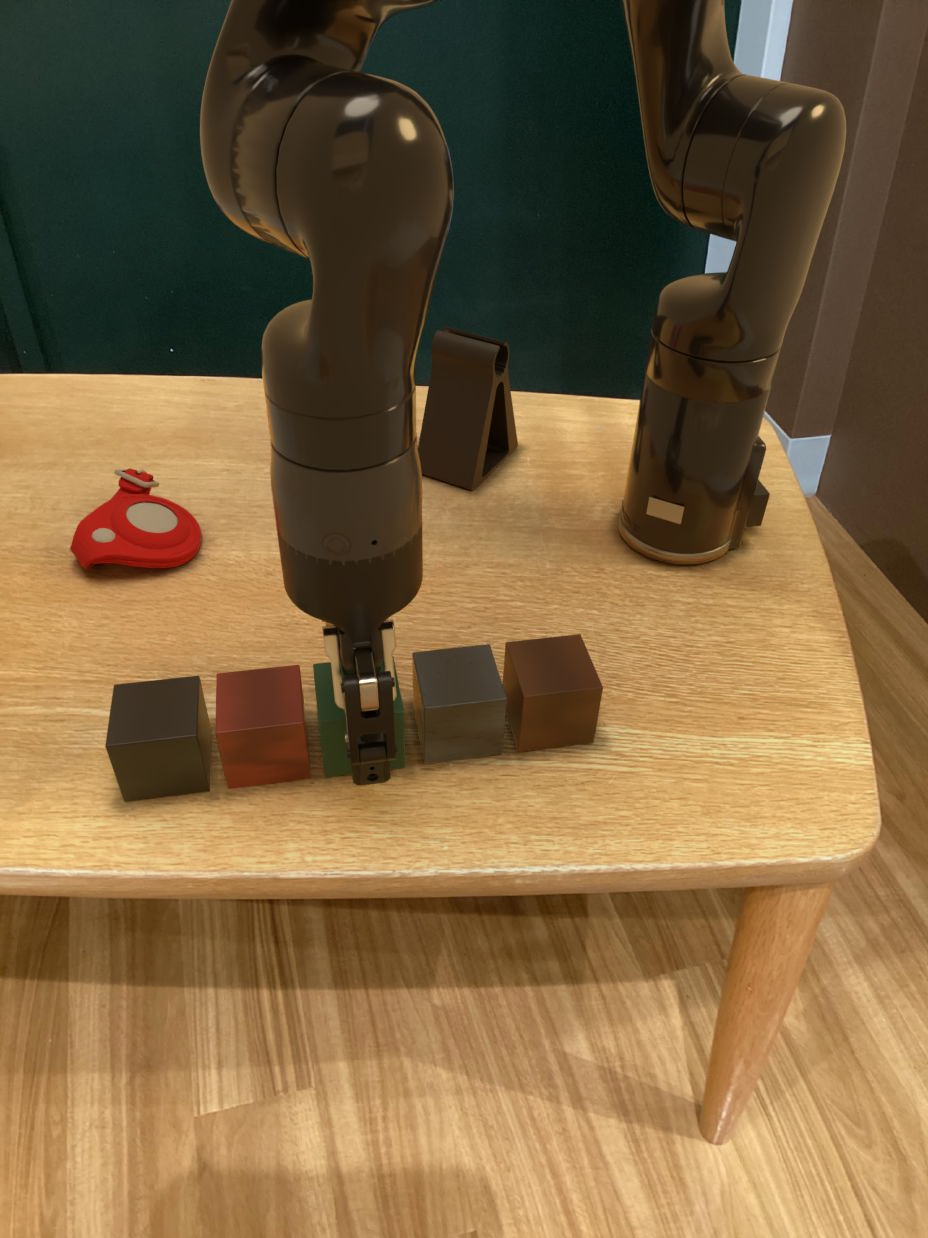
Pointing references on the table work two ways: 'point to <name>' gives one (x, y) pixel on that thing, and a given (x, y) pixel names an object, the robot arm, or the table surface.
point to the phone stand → (467, 409)
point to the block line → (277, 728)
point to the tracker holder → (137, 528)
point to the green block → (335, 724)
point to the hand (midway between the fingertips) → (364, 727)
